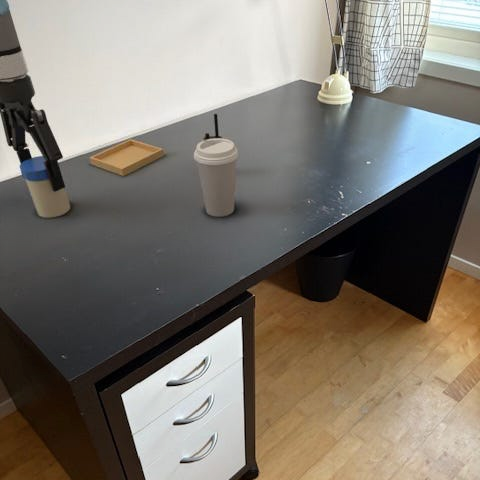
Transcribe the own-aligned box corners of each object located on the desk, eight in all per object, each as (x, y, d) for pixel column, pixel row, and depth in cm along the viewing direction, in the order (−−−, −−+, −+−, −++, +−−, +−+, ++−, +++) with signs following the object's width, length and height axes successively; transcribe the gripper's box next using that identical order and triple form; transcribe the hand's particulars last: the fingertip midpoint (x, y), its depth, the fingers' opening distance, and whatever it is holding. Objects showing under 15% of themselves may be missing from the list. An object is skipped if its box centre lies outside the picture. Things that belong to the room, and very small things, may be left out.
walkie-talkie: (206, 176, 123) (200, 116, 113) (206, 170, 125) (201, 112, 115) (224, 176, 122) (220, 116, 112) (225, 170, 125) (221, 111, 115)
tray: (91, 164, 131) (89, 157, 130) (132, 145, 140) (130, 139, 138) (123, 176, 125) (121, 168, 123) (164, 155, 133) (163, 148, 132)
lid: (15, 175, 106) (12, 165, 105) (46, 162, 111) (43, 152, 109) (36, 184, 102) (33, 174, 101) (67, 170, 107) (64, 161, 105)
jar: (30, 211, 112) (14, 167, 105) (57, 198, 117) (43, 155, 109) (50, 221, 109) (34, 175, 101) (76, 207, 113) (63, 162, 106)
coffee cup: (233, 196, 114) (230, 134, 104) (246, 215, 107) (244, 150, 97) (194, 204, 112) (187, 140, 102) (205, 223, 105) (199, 158, 95)
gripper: (-38, 73, 96) (3, 177, 111) (25, 90, 86) (61, 203, 101) (-5, 65, 101) (31, 166, 116) (59, 79, 90) (89, 189, 105)
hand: (45, 183), depth 108 cm, fingers open, 10 cm apart
